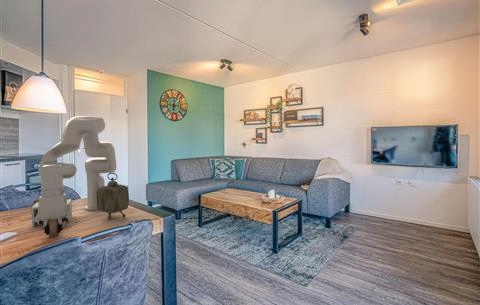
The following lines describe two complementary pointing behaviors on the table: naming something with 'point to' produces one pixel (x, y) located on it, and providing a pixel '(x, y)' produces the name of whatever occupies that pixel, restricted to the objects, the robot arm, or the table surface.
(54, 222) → the corded block
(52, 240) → the table surface
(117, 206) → the tabletop clock
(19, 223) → the table surface
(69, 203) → the cubby shelf
